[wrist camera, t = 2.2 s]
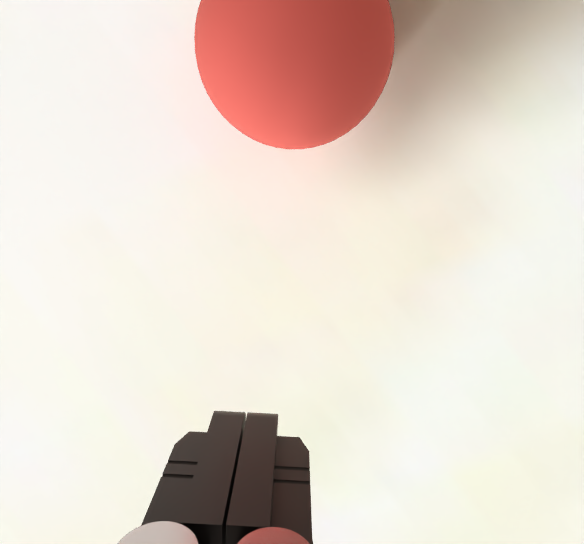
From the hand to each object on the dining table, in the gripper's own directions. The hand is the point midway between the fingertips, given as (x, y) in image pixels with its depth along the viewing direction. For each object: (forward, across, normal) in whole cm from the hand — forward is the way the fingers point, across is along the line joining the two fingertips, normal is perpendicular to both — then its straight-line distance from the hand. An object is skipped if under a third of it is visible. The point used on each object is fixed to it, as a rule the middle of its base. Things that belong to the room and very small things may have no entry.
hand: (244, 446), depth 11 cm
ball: (+6, -1, -10) cm, 12 cm away
